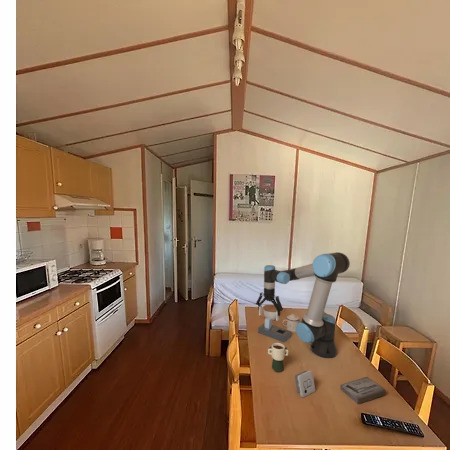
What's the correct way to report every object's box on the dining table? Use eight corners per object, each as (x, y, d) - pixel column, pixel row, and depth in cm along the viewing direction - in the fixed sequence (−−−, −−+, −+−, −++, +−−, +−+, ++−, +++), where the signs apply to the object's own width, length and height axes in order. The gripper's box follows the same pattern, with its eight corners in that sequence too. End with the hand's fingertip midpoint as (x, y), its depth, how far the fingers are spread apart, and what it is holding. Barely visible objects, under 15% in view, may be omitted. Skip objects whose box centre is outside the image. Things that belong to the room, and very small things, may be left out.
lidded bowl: (276, 315, 211) (277, 302, 210) (280, 321, 199) (281, 308, 198) (261, 315, 210) (261, 302, 210) (264, 322, 198) (265, 308, 197)
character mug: (286, 365, 143) (287, 343, 142) (288, 374, 136) (289, 350, 135) (266, 364, 144) (267, 342, 143) (267, 372, 137) (268, 349, 136)
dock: (286, 349, 159) (286, 347, 159) (280, 355, 153) (280, 352, 153) (274, 345, 164) (274, 343, 164) (268, 350, 158) (268, 348, 158)
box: (386, 395, 121) (386, 389, 121) (357, 405, 115) (357, 398, 115) (366, 381, 131) (366, 375, 131) (339, 389, 125) (339, 383, 125)
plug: (271, 332, 181) (271, 318, 181) (268, 334, 179) (269, 320, 178) (267, 330, 184) (267, 317, 183) (264, 332, 181) (264, 318, 180)
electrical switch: (302, 398, 118) (301, 378, 119) (293, 392, 123) (293, 373, 123) (315, 391, 123) (315, 372, 124) (307, 386, 128) (306, 367, 128)
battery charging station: (290, 336, 176) (291, 330, 175) (284, 342, 168) (284, 335, 168) (265, 327, 188) (265, 321, 188) (258, 332, 181) (258, 326, 180)
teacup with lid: (297, 326, 191) (297, 311, 190) (300, 332, 182) (301, 316, 181) (280, 326, 191) (281, 311, 190) (283, 332, 182) (284, 316, 181)
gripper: (288, 289, 174) (287, 320, 175) (257, 283, 190) (256, 311, 191) (283, 292, 168) (282, 324, 169) (251, 285, 184) (251, 314, 185)
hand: (268, 317), depth 180 cm, fingers open, 13 cm apart
